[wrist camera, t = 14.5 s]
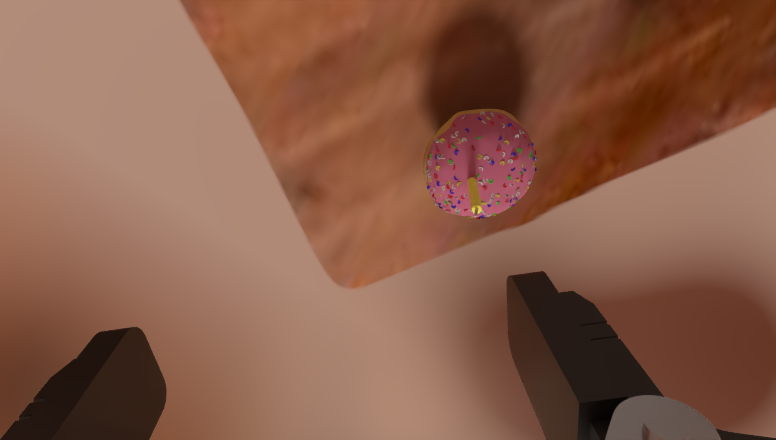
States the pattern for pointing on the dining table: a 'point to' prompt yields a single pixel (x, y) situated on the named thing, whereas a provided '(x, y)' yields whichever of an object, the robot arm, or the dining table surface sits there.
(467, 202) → the cupcake
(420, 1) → the dining table surface
